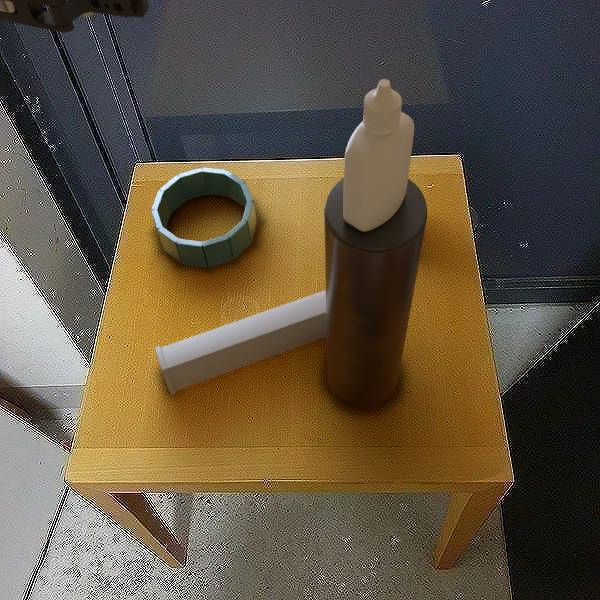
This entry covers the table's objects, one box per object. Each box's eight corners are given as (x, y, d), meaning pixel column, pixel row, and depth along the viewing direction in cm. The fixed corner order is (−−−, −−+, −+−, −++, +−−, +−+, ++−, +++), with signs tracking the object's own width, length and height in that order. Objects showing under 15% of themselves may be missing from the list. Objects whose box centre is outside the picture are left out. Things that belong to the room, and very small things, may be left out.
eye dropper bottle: (330, 196, 54) (329, 72, 44) (396, 176, 55) (410, 49, 44) (351, 238, 52) (355, 118, 41) (420, 216, 52) (441, 92, 42)
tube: (356, 268, 82) (152, 339, 77) (375, 294, 78) (160, 370, 73) (360, 302, 85) (165, 371, 81) (378, 328, 81) (174, 403, 77)
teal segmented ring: (148, 259, 88) (139, 238, 85) (175, 185, 95) (168, 163, 91) (243, 272, 87) (239, 251, 83) (264, 196, 93) (261, 173, 89)
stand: (321, 402, 77) (315, 241, 52) (333, 340, 81) (332, 162, 56) (393, 413, 76) (423, 255, 50) (401, 350, 80) (432, 173, 55)
